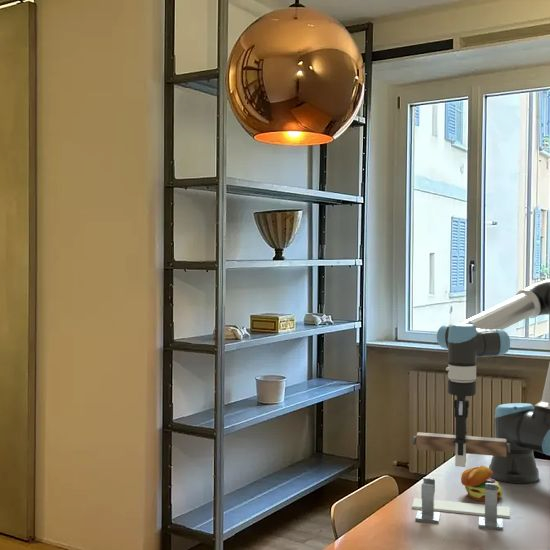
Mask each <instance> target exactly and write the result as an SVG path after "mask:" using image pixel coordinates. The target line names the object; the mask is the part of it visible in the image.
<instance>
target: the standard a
mask: <svg viewBox="0 0 550 550" xmlns="http://www.w3.org/2000/svg"><path fill="white" fill-rule="evenodd" d="M422 482H423V483H421V486H420V487H421V488H420V489H421V492H420V493H421V494H420V495H421V496H420V497H421V498H420V499H422V509H421V510H420V509H417V512H416V516H415V522H420V523H421V522H422V523H430V524H439V523H440V518H441V512H439V511H434V500H435V493H436V478H435V477H427V476H426V477H425V476H424V477H423V479H422Z"/></svg>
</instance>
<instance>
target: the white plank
mask: <svg viewBox="0 0 550 550" xmlns="http://www.w3.org/2000/svg"><path fill="white" fill-rule="evenodd" d="M411 509H415V510H422V499H421V498H419V497H414V498H413V502H412V505H411ZM434 512H446V513H454V514H456V513H457V514H465V515H477V516H482V517H485V504H482V503H481V504H480V503H471V502H459V501H451V500H450V501H449V500H438V499H434ZM497 518H501V519H511V509H510V506H502V505H501V506H500V505H497Z"/></svg>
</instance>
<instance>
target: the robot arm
mask: <svg viewBox="0 0 550 550" xmlns="http://www.w3.org/2000/svg"><path fill="white" fill-rule="evenodd" d="M542 315H543V316H544V315H545V316H546V315H550V278H548V279H545V280H542V281H539V282H535V283H533V284H530V285H529V286H527V287H525V288H523V289H521V290H519V291H517V293H516V295H515V296H513V297H511V298H508V299H507V300H505V301H503V302H501V303H500V302H499V303H498V304H496V305H494V306H492V307H490V308H488V309H485V310H483V311H482V312H480V313H477V314H476V315H473V316H471V317H469V318H467V319H466V320H463V321H461V322H459V323H453V324H451V323H448V324H443V325H442V326H439V328H438V329H437V333H436V341H437V344H438V345H439V347H441V348H443V349H444V350H447V359H448V360H447V363H448V365H447V367H446V368H445V371H447V377H448V379H449V380H448V381H447V393H448V394H449V395H451V396H456V399H454V401H453V408H454V418H455V435H456V439H455V441H454V440H453V443H456V446H455V453H454V454H455V456H454V457H455V458H454V460H455V461H454V462H455V463H454V465H455V467H459V468H466V466H467V465H466V464H467V454H466V440H465V436H470V435H467V418H468V417H469V416H468V415H469V408H470V400H469V399H468V400H467V397H473V396H475V395H476V394H477V390H476V389H477V387H476V386H477V383H476V380H477V358H488V357H498V356H503V355H505V354H506V353H508V352H509V351H510V348H511V339H510V336H509V334H508V333H507V332H506V331H505V329H506V328H509V327H511V326H513V325H515V324H518V323H519V322H522V320H525V319H527V318H528V319H534V318H537V317H538V316H542ZM541 396H542V397H541V400H540V401H539V402H537V403H536V404H535V405H533V404H532V403H527V402H525V403H523V402H518V403H517V402H514V403H513V402H512V403H511V402H510V403H503V404H499V405H498V406H496V407H495V409H494V410H495V412H494V414H495V415H494V438H501V439H506V443H510V453H509V452H506V457H503V456H492V457H491V460H490V464H489V466H488V468H489V469H490V470H491V471H492V472H493V474H492V476H491V477H490V478H491V479H495V480H497V481H501V482H505V483H511V484H531V483H535V482H537V481H539V478H540V471H539V469H538V468H537V462H536V459H535V456H534V452H537V453H541V454H545V456H549V457H550V362H549V363H548V369H547V373H546V377H545V382H544V387H543V392H542V395H541Z"/></svg>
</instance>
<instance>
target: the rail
mask: <svg viewBox="0 0 550 550" xmlns="http://www.w3.org/2000/svg"><path fill="white" fill-rule="evenodd" d="M455 439H456V434H449V433H448V434H447V433H446V434H445V433H434V432H433V433H432V432H419V431H417V433H416V436H415V435H413V437H412V445H414V446H415V449H416V450H419V451H430V452H431V451H432V452H444V453H453V454H455V446H456V443H453V440H454V441H455ZM465 440H466V455H467V454H468V455H469V454H470V455H480V456H492V457H493V456H503V457H506V452H509V453H510V443H506V439H501V438H495V437H487V436H486V437H485V436H472V435H469V436H465Z"/></svg>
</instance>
